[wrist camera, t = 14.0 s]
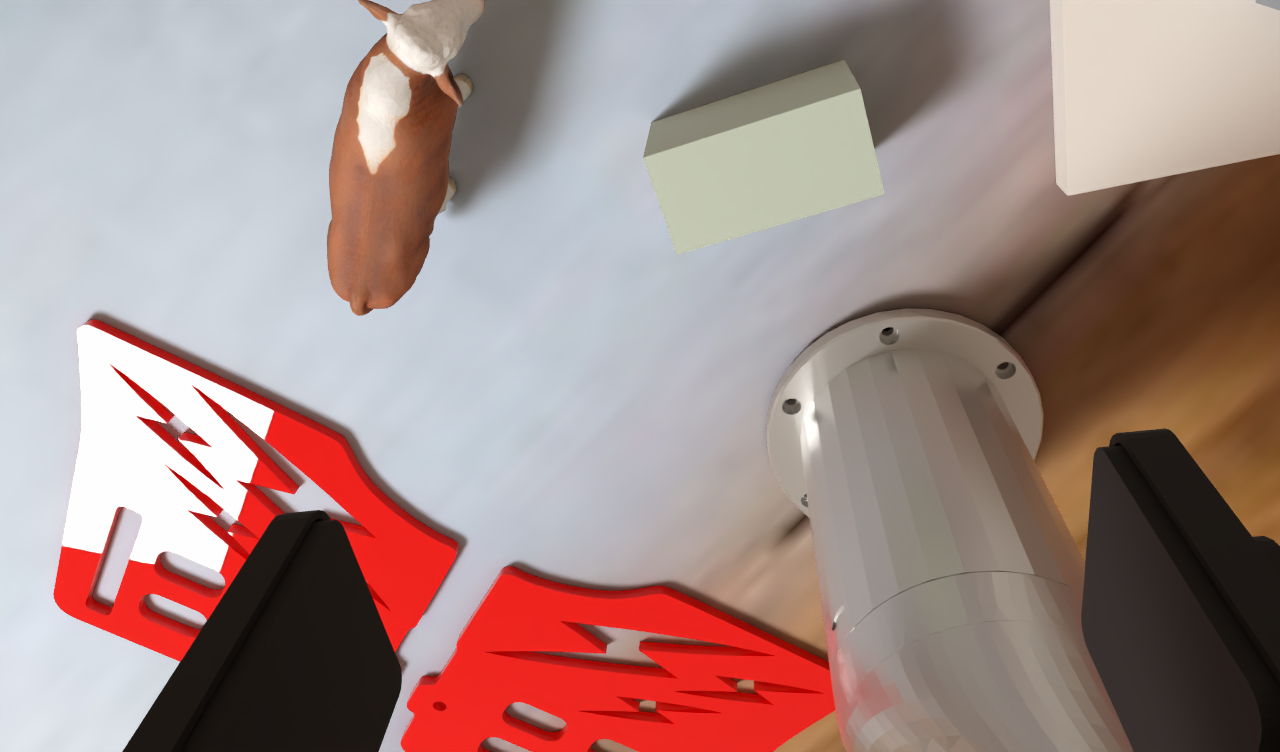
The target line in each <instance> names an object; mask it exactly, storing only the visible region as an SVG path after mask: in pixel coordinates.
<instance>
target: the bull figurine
mask: <svg viewBox="0 0 1280 752" xmlns="http://www.w3.org/2000/svg"><path fill="white" fill-rule="evenodd" d="M358 1H359V3H360V4H361V5H363V6H364V7H365V8H367V9H368V10H369V11H370V12H371V13H372V15H373V16H374V17H375V18H377V19H379V20H380V21H382V22H383V23H384V24H385V25H386V27H387V33H386V34H385V35H384V36H383V37H382V38H381V39H380V40H379V41H378V42H377V43H376V44H375V45H374V46H373V47H372V49H371V50H370V51H369V53H368V54H367V56H366V57H365V58H364V59H363V60H362V61H361V62H360V64H359V65H358V67H357V68H356V70H355V71H354V73H353V75H352V77H351V79H350V81H349V83H348V85H347V89H346V93H345V97H344V102H343V108H342V114H341V117H340V119H339V122H338V125H337V128H336V132H335V136H334V143H333V150H332V156H331V161H330V168H329V187H330V199H331V210H332V220H331V222H330V225H329V229H328V235H327V259H328V270H329V276H330V280H331V284H332V287H333V289H334V290H335V292H336V293H337V294H338V295H339V296H340V297H341V298H342V299H344V300H346V301H349V302H350V306H351V310H352V311H353V312H354V313H355V314H356V315H359V316H360V315H365V314H367V313H369V312H370V311H372V310H373V309H384V308H388V307H391V306H392V305H394V304H395V303H396V302H397V301H398V300H399V299H400V298H401V297H402V296H403V295H404V294H405V293H406V292H407V291H408V290H409V289H410V288H411V287H412V285H413V284H414V282H415V280H416V277H417V275H418V274H419V273H420V271H421V269H422V266H423V264H424V261H425V258H426V256H427V254H428V251H429V246H430V239H429V236H430V235H431V233H432V231H433V226H434V220H435V218H436V216H437V215H438V214H439V213H441V212H443V211H445V210H446V204H447V202H448V201H449V200H450V199H451V198H452V196H453V195H454V194H455V192H456V183H455V181H454V180H453V179H452V178H451V177H449V162H448V157H449V152H450V146H451V138H452V131H453V127H454V124H455V119H456V113H457V109H458V108H461V106H462V105H463V101H464V100H465V99H466V98H467V97H468V96H469V95H470V94H471V92H472V90H473V84H472V81H471V80H470V79H469V78H468V77H467V76H466V75H463V74H458V75H456V76H455V77H454V78H453V75H452V72H451V70H450V68H449V66H448V61H450V60H451V59H453V58H454V57H455V56H456V55H457V54H458V52H459V49H460V48H461V46H462V45H463V43H464V41H465V39H466V36H467V33H468V29H469V27H470V26H471V24H473V23H474V22H475V21H477V19H478V18H479V17H480V16H481V14H482V13H483V11H484V9H485V5H484V0H432V1H430V2H424V3H421V4H414V5H412V6H410V7H409V9H408V10H407V11H406V12H405V13H403V14H398V13H395V12H393V11H392V10H390V9H388V8H387V7H384V6H382V5H379V4H377V3H374V2H372V1H369V0H358Z"/></svg>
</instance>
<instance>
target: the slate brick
mask: <svg viewBox="0 0 1280 752" xmlns="http://www.w3.org/2000/svg"><path fill="white" fill-rule="evenodd" d="M1256 3H1258V4H1261V5H1264V6H1267V7H1270V8H1273V9H1276V10H1280V0H1256Z"/></svg>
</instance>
